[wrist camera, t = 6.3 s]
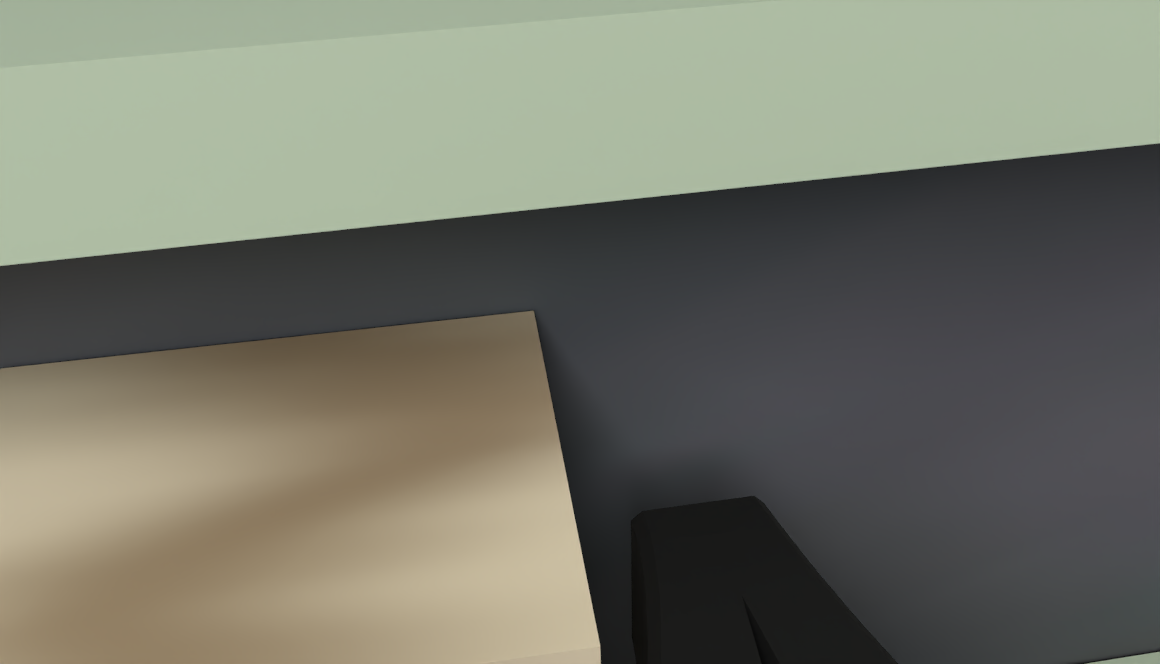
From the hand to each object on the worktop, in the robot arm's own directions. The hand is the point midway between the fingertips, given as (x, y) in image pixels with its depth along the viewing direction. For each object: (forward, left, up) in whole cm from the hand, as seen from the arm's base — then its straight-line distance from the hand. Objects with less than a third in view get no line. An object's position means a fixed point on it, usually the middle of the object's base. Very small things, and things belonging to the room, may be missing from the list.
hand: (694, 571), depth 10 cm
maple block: (-3, +3, -1) cm, 4 cm away
